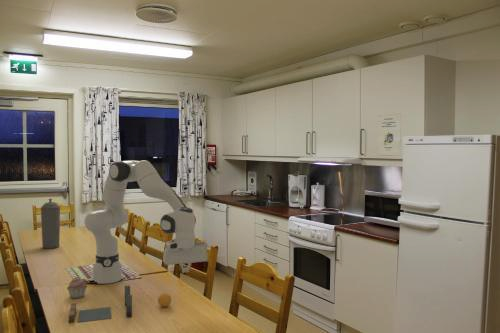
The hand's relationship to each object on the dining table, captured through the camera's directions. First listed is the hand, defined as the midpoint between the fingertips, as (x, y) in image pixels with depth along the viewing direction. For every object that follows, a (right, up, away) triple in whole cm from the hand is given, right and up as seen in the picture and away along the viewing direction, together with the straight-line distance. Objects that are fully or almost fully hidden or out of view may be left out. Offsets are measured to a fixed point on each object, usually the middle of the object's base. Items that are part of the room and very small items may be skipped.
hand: (185, 272), depth 195 cm
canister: (-113, -9, +107) cm, 157 cm away
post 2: (-22, -16, -14) cm, 30 cm away
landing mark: (-38, -15, -12) cm, 42 cm away
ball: (-9, -12, -2) cm, 16 cm away
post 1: (-26, -15, -1) cm, 31 cm away
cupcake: (-54, -15, +10) cm, 57 cm away
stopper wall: (-46, -15, -14) cm, 51 cm away
